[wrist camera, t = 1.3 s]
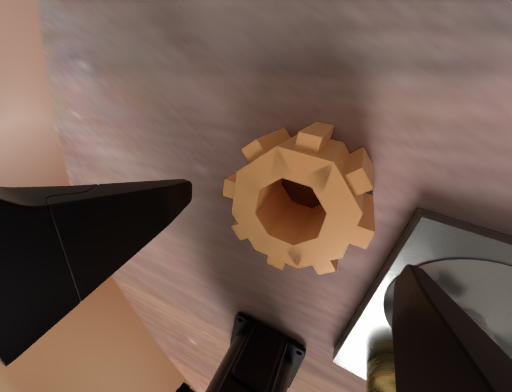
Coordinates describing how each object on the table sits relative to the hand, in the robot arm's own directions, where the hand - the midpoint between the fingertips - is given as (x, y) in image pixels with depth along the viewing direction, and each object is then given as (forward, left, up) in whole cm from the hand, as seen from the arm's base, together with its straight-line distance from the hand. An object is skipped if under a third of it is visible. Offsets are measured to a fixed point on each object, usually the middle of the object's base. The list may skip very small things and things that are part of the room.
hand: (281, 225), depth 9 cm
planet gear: (0, 0, -5) cm, 5 cm away
